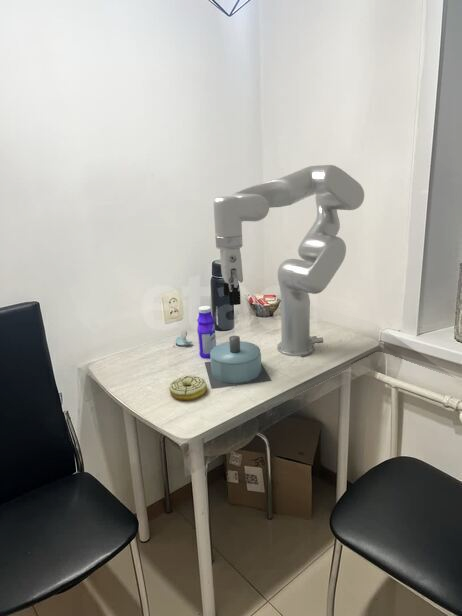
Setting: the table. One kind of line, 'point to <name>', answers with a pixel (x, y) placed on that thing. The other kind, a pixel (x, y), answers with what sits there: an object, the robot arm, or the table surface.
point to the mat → (218, 384)
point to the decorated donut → (188, 387)
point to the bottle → (206, 331)
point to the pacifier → (182, 340)
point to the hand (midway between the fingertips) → (232, 299)
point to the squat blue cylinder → (235, 361)
